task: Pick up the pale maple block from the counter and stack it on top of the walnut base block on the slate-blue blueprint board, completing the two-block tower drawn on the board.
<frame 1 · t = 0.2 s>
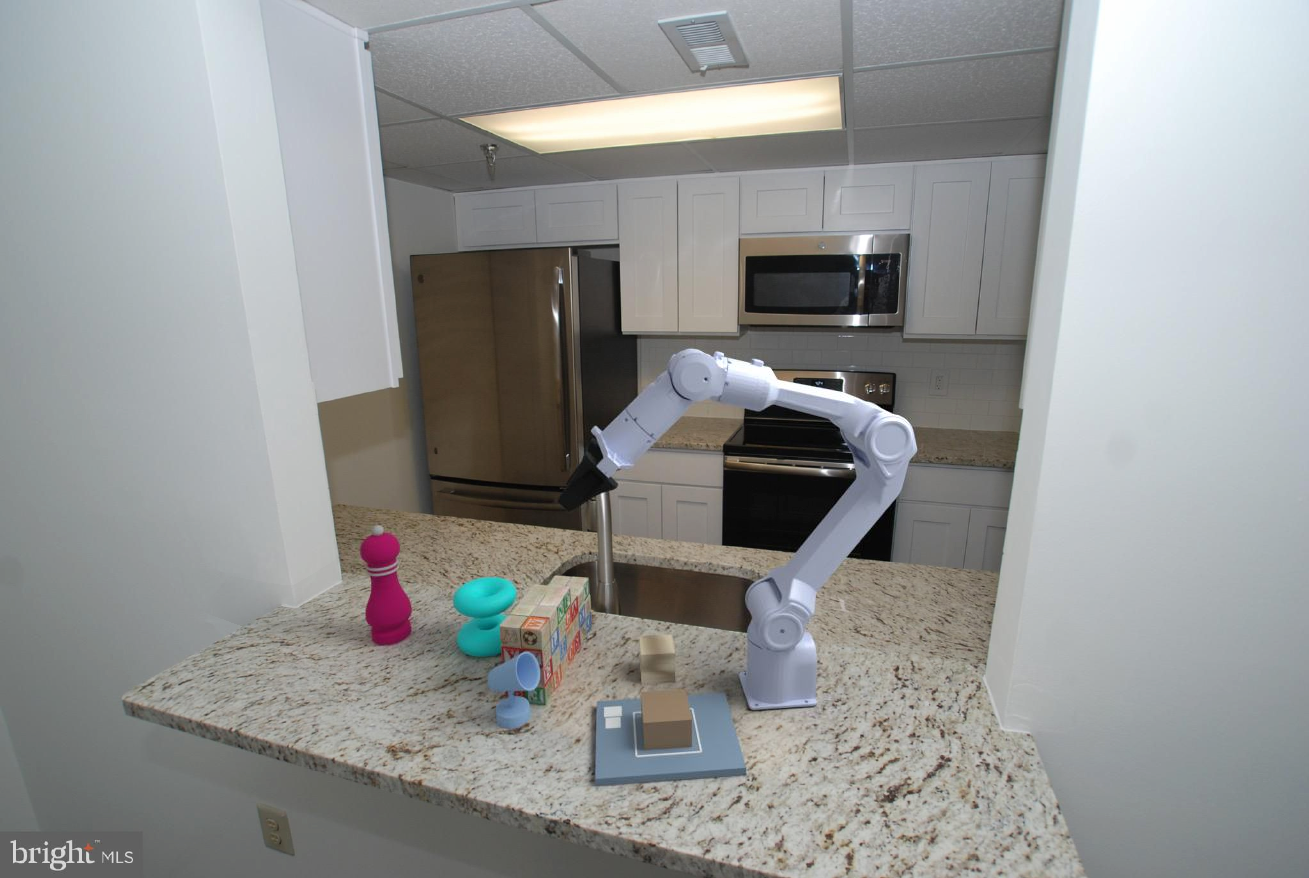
hand: (567, 497, 81), 31 cm above the countertop, tool tilted 45°, fingers open, 7 cm apart
stack of blocks: (553, 661, 98), on the countertop
blueprint board: (665, 738, 81), on the countertop
donuts: (489, 643, 103), on the countertop
spotlight: (516, 718, 85), on the countertop
pepper mill: (392, 636, 106), on the countertop
maple block: (657, 673, 94), on the countertop
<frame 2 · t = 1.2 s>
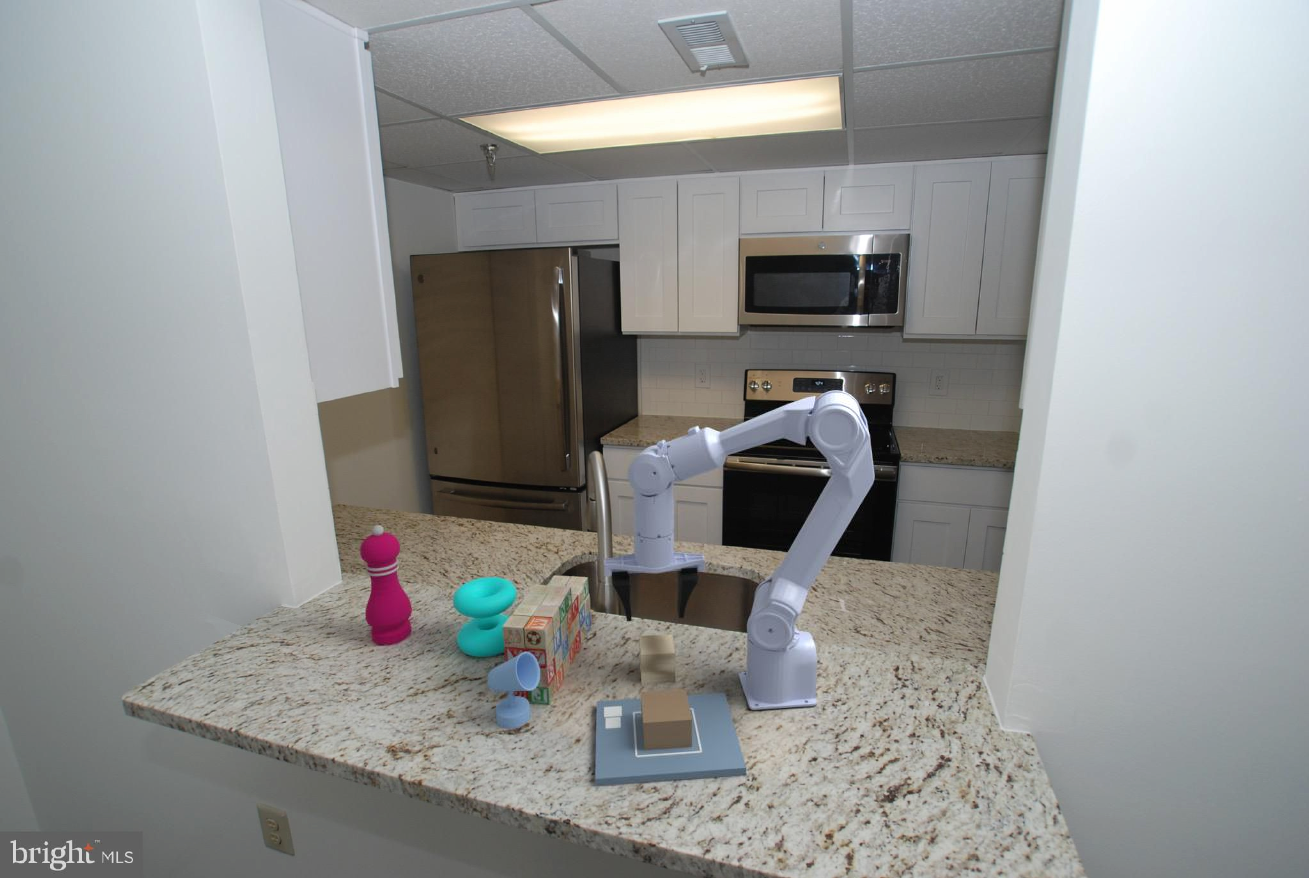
hand: (654, 616, 92), 10 cm above the countertop, tool pointing down, fingers open, 7 cm apart
nothing on the countertop moved.
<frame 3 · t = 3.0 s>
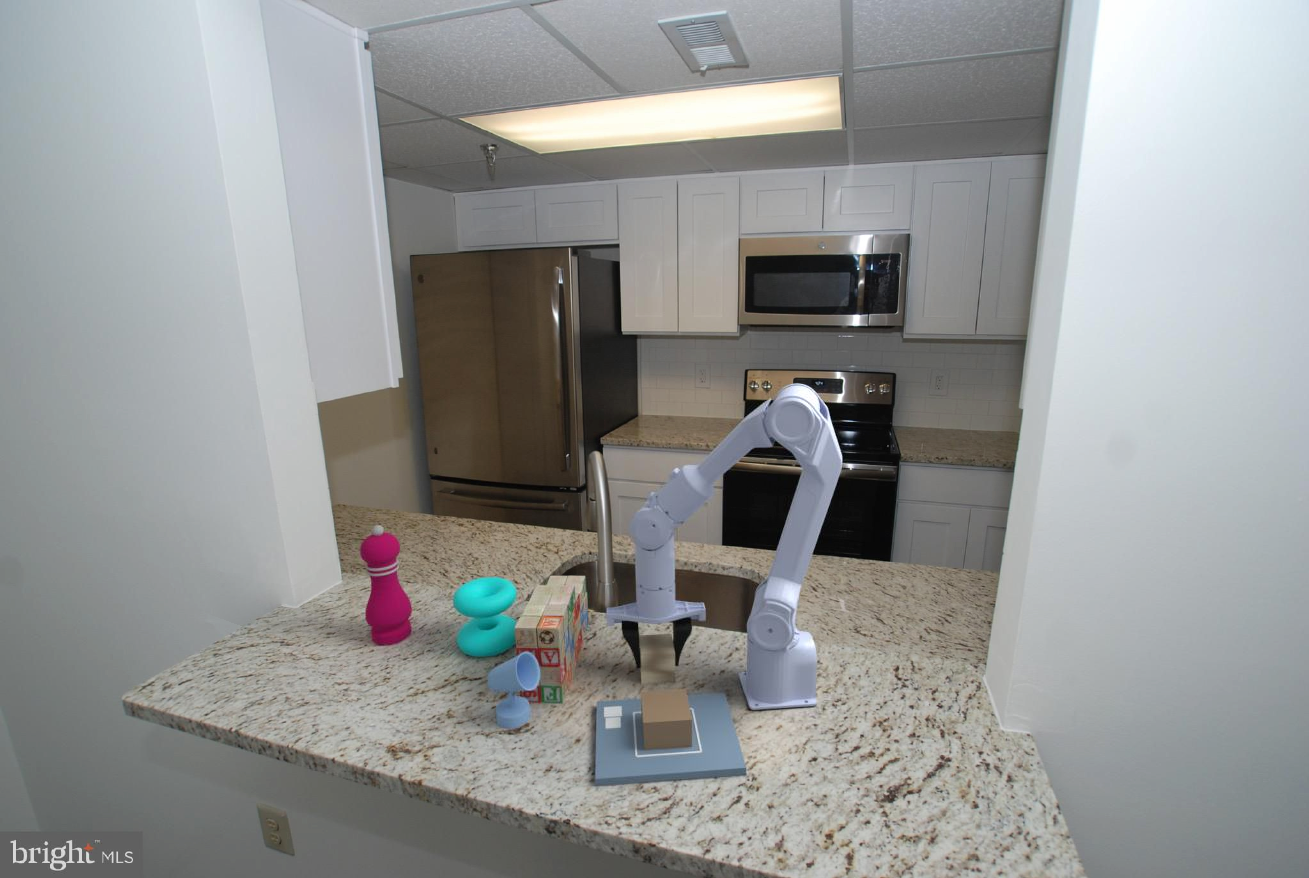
hand: (657, 663, 94), 2 cm above the countertop, tool pointing down, fingers closed on maple block, 5 cm apart
maple block: (657, 672, 94), on the countertop, touching gripper
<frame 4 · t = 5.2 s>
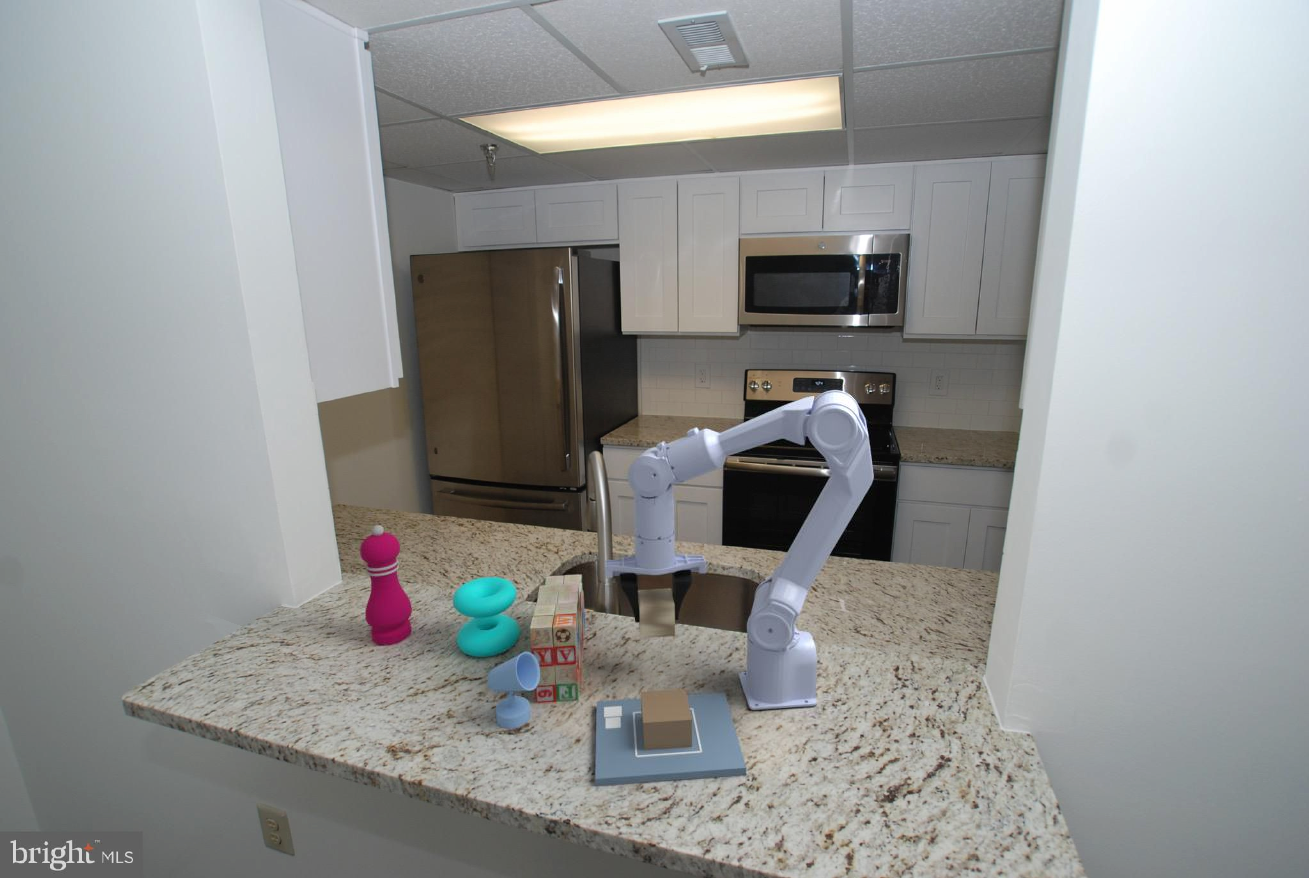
hand: (656, 617, 92), 9 cm above the countertop, tool pointing down, fingers closed on maple block, 5 cm apart
maple block: (656, 627, 92), point 8 cm above the countertop, touching gripper
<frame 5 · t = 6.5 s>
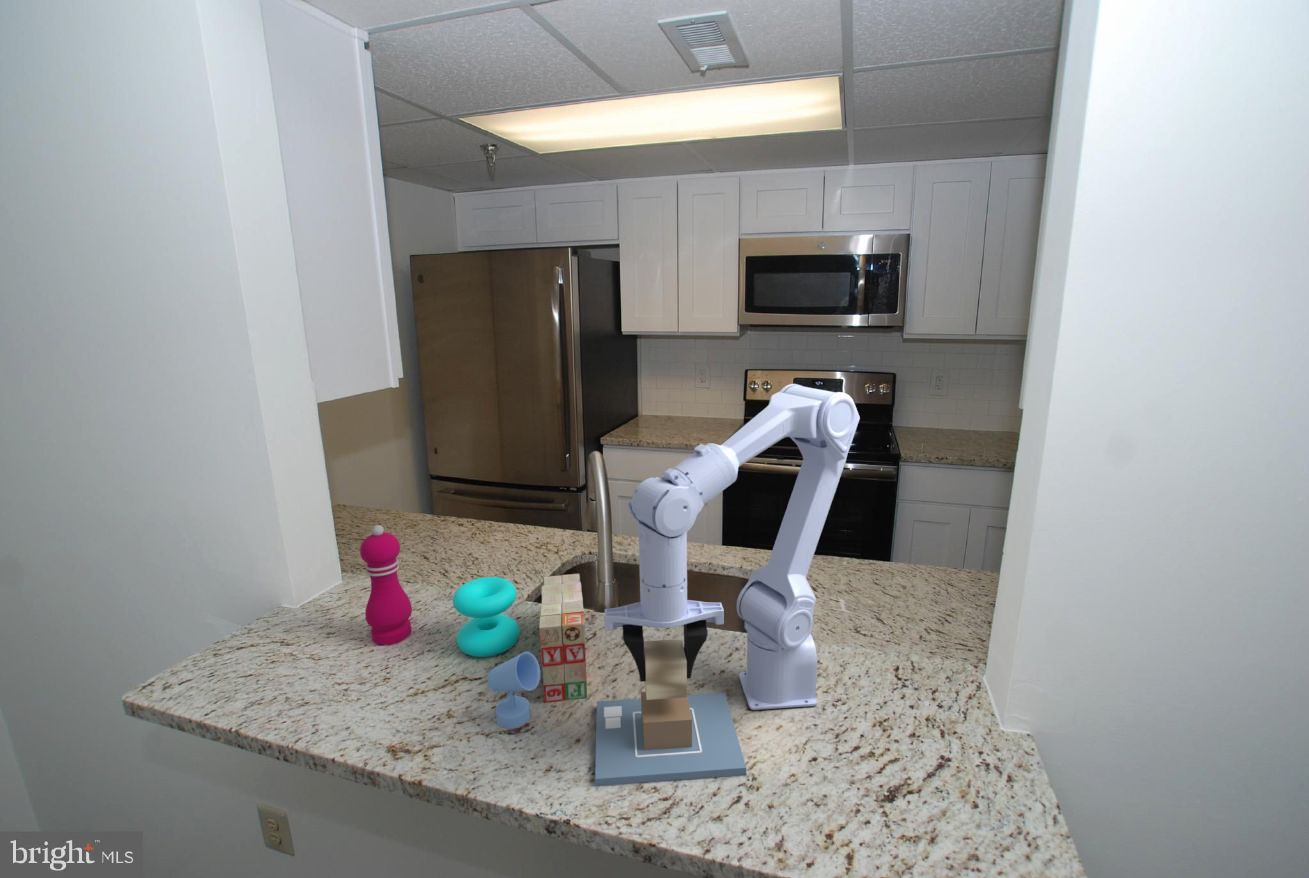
hand: (664, 675, 78), 9 cm above the countertop, tool pointing down, fingers closed on maple block, 5 cm apart
maple block: (664, 685, 79), point 8 cm above the countertop, touching gripper
when the fingers open (8 cm above the countertop, at t = 7.7 s): maple block drops 1 cm, resting on blueprint board.
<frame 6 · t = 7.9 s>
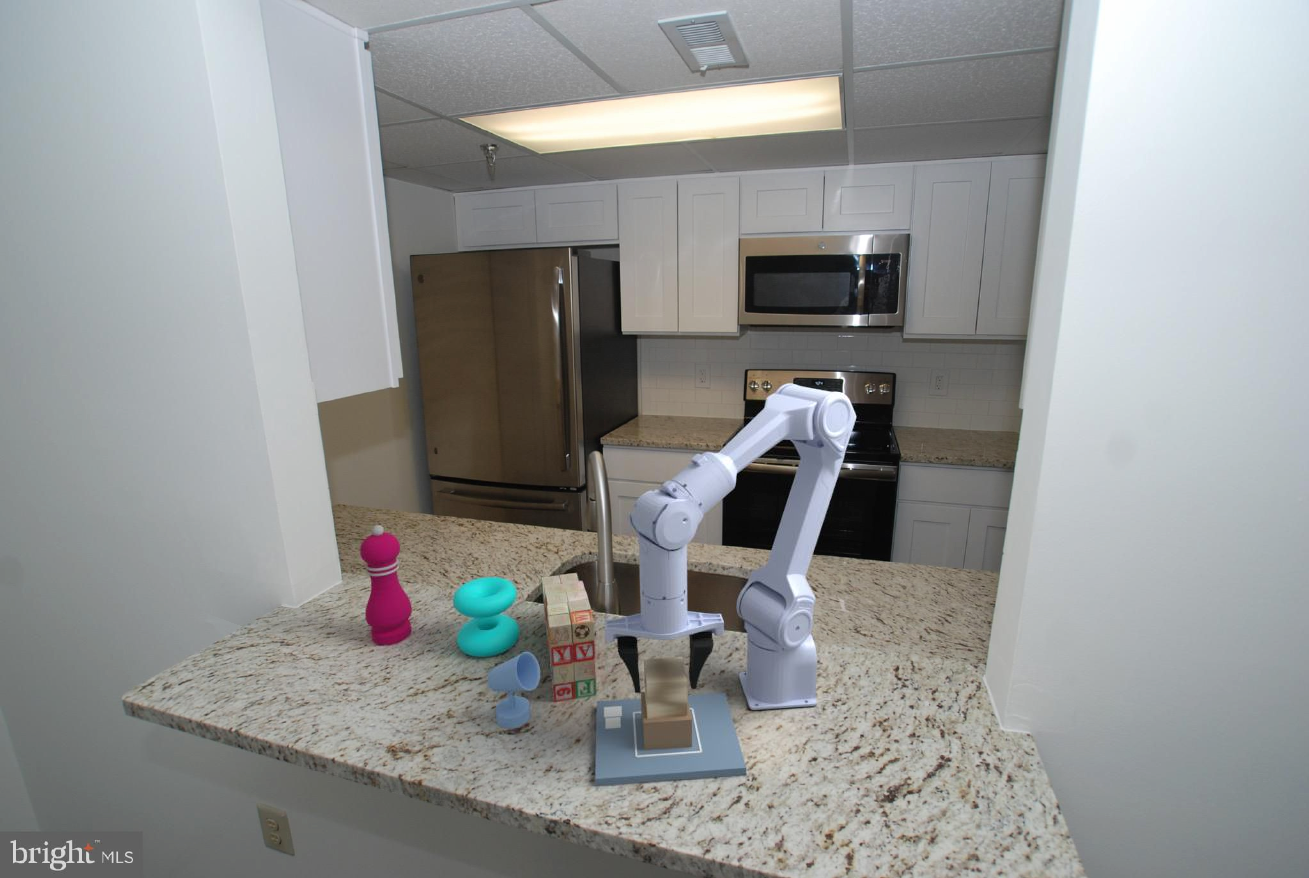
hand: (665, 686, 79), 8 cm above the countertop, tool pointing down, fingers open, 6 cm apart
maple block: (665, 703, 80), point 5 cm above the countertop, touching blueprint board
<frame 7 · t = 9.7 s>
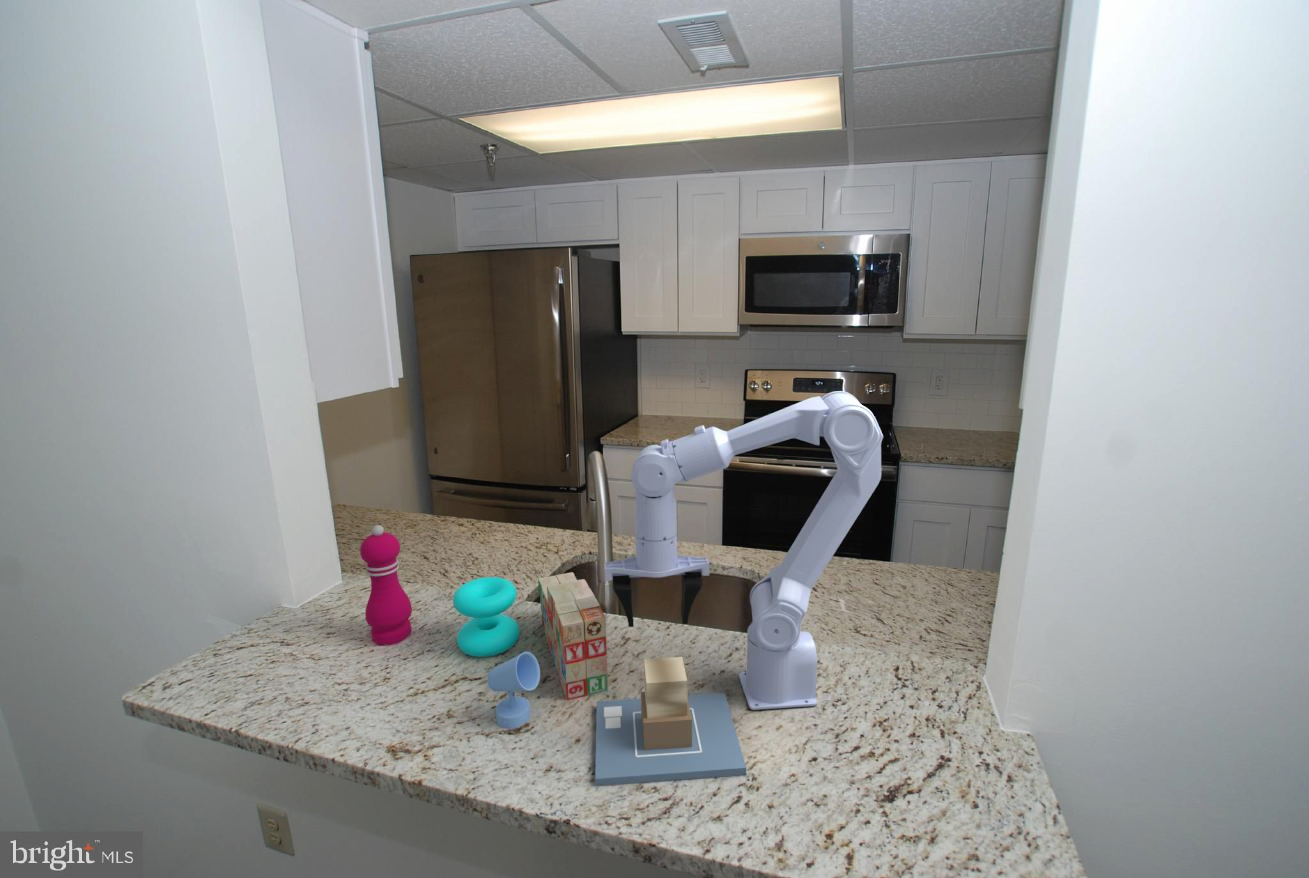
hand: (657, 621, 89), 10 cm above the countertop, tool pointing down, fingers open, 7 cm apart
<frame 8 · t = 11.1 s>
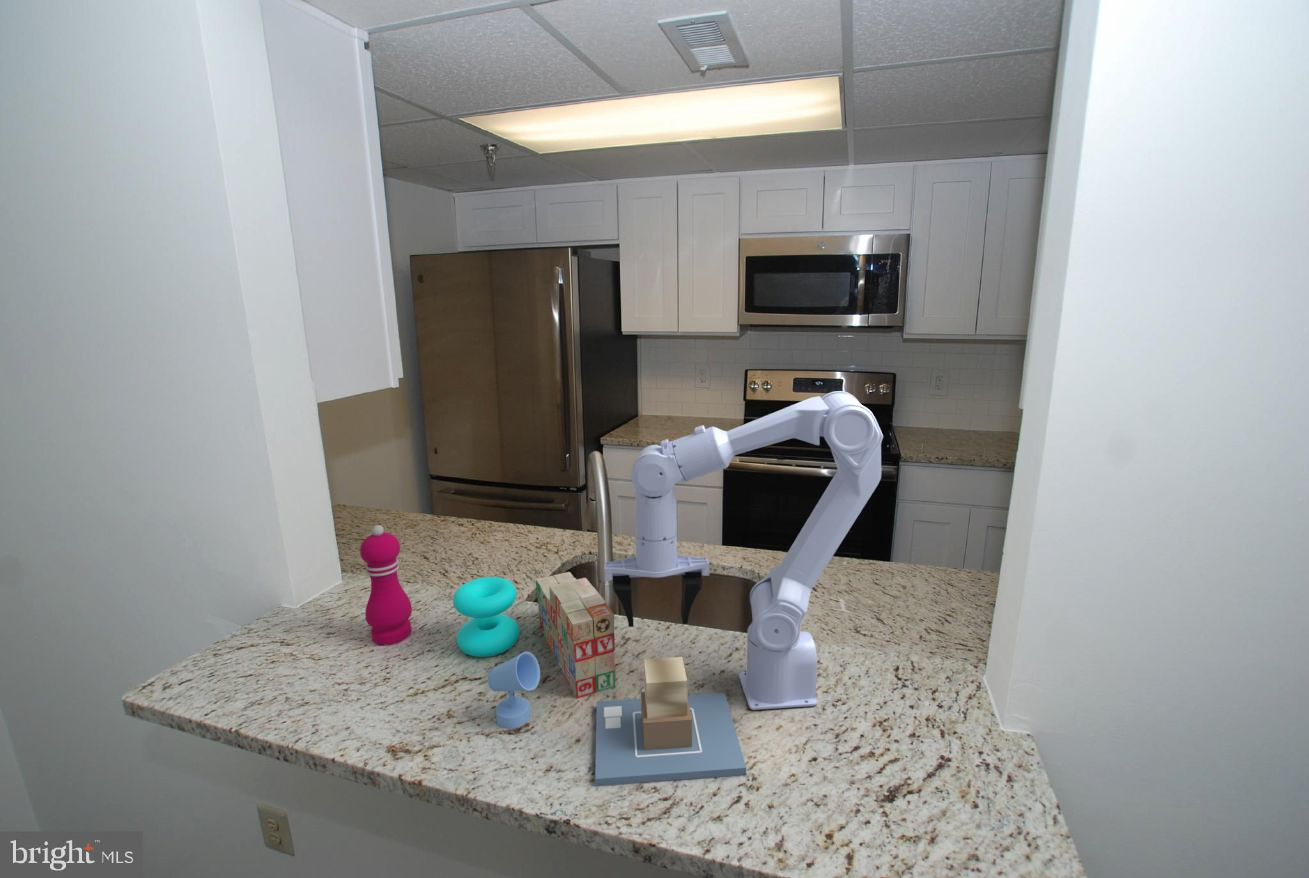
hand: (657, 621, 89), 10 cm above the countertop, tool pointing down, fingers open, 7 cm apart
at the end: maple block 0.3 cm off-centre on the blueprint board, point 5.0 cm above the blueprint board's base; maple block tilted 0°; the gripper is holding nothing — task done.
